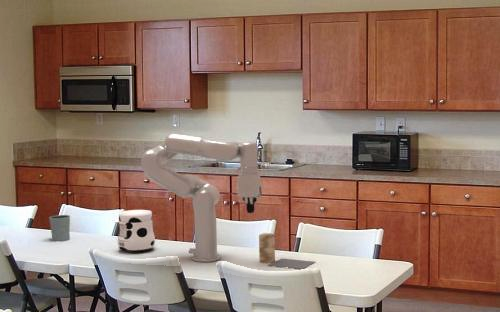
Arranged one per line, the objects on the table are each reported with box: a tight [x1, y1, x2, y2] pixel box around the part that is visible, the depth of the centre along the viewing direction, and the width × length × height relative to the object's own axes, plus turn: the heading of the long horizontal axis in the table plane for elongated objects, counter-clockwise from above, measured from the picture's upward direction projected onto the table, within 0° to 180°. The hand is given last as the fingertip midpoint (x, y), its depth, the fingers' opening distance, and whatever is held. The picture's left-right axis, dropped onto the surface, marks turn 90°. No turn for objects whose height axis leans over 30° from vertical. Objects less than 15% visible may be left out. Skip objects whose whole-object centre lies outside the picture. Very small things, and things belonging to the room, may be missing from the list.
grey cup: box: [48, 214, 71, 242], centre depth 383 cm, size 10×10×12 cm
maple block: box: [258, 232, 276, 264], centre depth 326 cm, size 5×5×12 cm
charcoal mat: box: [266, 258, 316, 270], centre depth 321 cm, size 16×14×1 cm
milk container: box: [117, 209, 156, 253], centre depth 354 cm, size 17×17×18 cm
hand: (250, 212), depth 328 cm, fingers closed
